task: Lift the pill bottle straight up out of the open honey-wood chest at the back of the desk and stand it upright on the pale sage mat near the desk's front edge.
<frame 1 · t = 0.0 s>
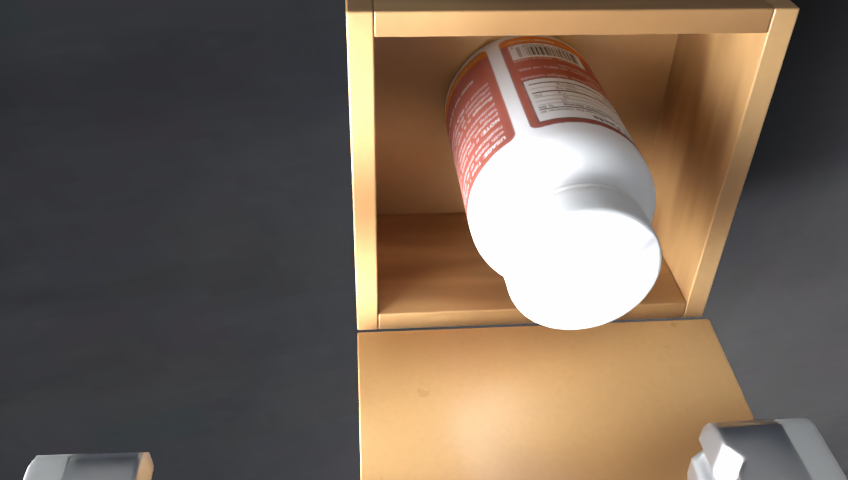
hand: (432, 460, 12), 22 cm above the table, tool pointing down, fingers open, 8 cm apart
pill bottle: (518, 97, 33), point 1 cm above the table, touching chest
chest: (515, 90, 33), on the table
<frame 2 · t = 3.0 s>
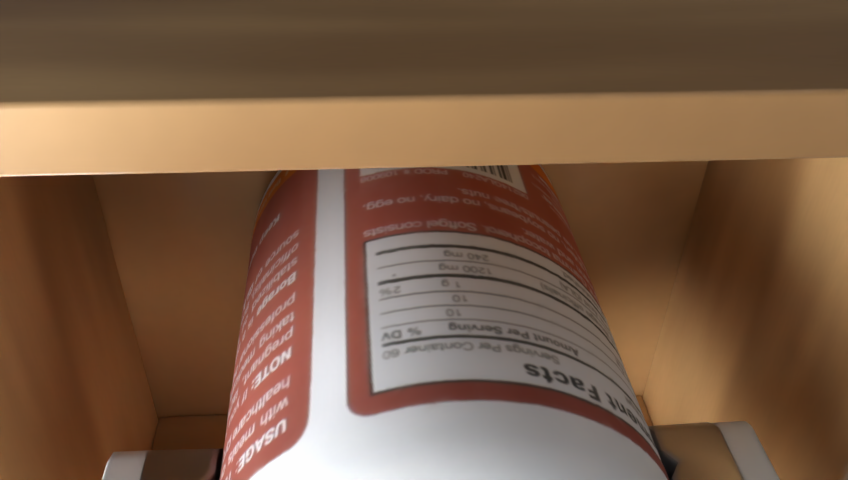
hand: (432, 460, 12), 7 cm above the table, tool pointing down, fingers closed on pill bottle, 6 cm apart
pill bottle: (408, 220, 17), point 1 cm above the table, touching chest, gripper
chest: (406, 204, 17), on the table
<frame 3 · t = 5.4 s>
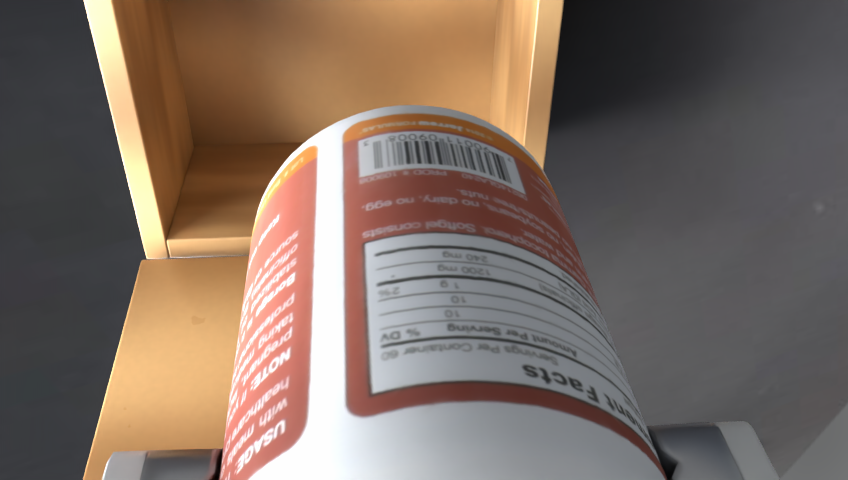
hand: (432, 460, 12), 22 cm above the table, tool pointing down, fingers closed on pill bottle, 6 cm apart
pill bottle: (407, 221, 17), point 16 cm above the table, touching gripper
chest lid: (348, 456, 24), point 14 cm above the table, hinge at 95.0°
chest: (336, 2, 30), on the table
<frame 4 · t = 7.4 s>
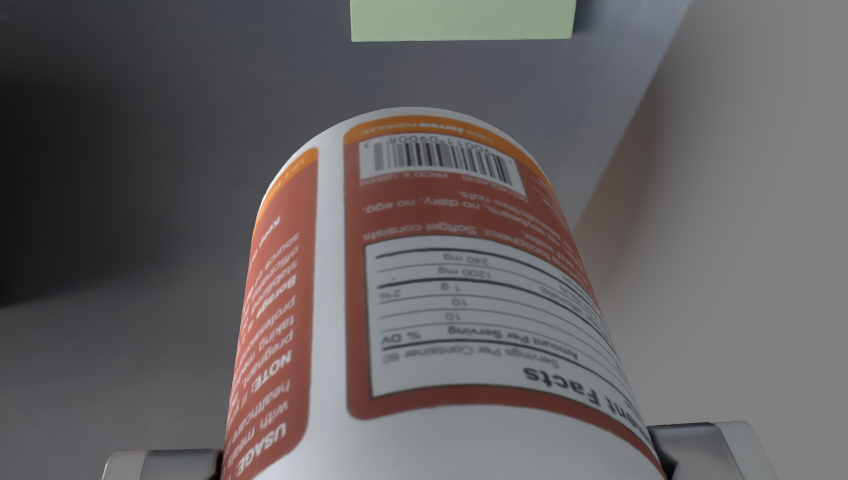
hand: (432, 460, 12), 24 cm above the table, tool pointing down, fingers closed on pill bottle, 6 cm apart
pill bottle: (408, 222, 17), point 18 cm above the table, touching gripper
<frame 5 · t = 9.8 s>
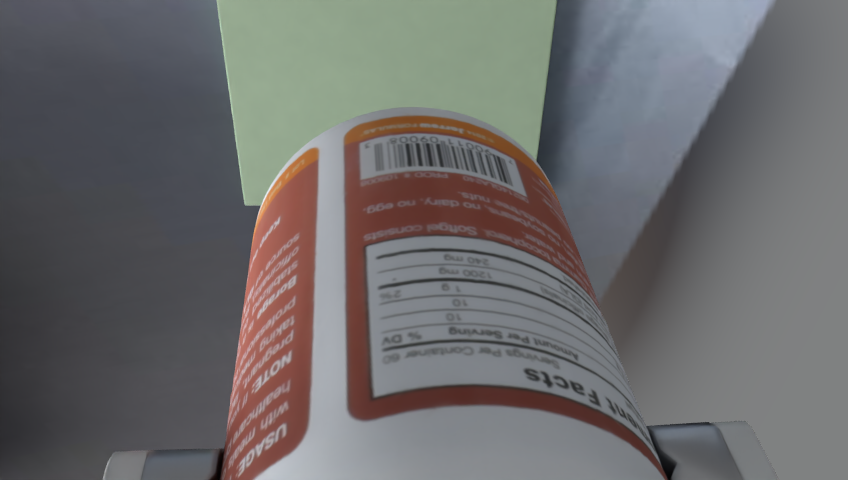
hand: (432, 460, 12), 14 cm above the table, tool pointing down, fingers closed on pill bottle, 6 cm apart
pill bottle: (408, 223, 17), point 8 cm above the table, touching gripper
mat: (389, 63, 23), on the table
when the fingers open (6 cm above the table, at t = 12.0 s): pill bottle stays where it is, resting on mat.
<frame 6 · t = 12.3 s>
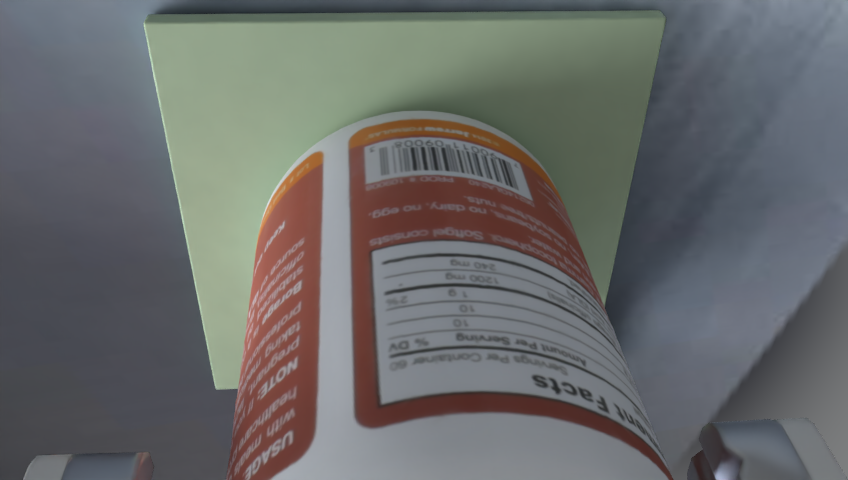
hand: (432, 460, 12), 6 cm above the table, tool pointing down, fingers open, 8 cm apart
pill bottle: (412, 226, 17), resting on mat
mat: (407, 219, 17), on the table
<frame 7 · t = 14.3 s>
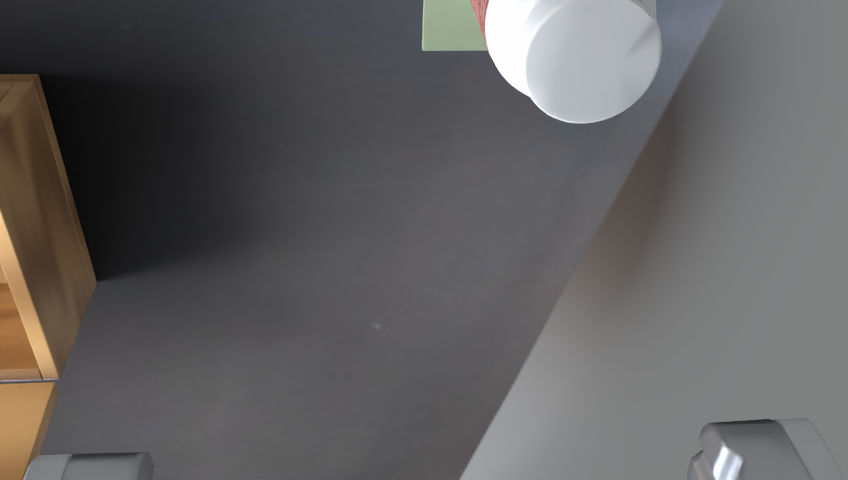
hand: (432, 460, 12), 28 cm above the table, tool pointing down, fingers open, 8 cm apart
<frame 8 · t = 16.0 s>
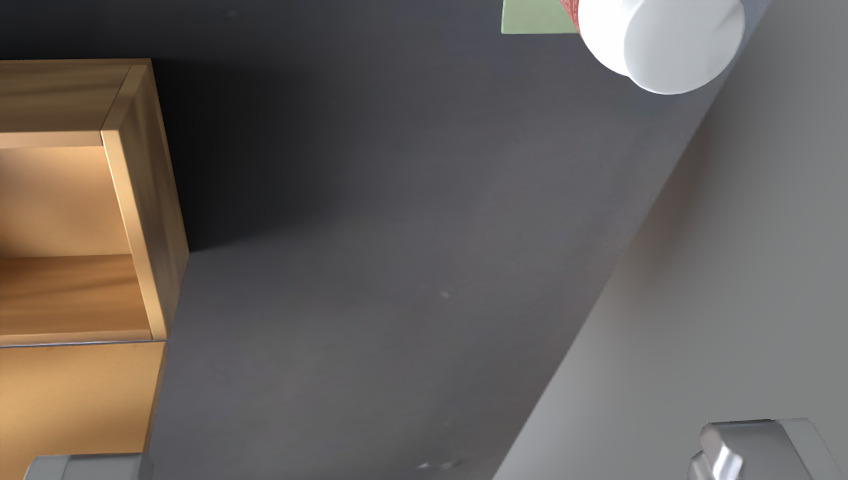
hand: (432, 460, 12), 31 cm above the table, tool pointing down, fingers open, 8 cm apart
chest: (44, 167, 44), on the table
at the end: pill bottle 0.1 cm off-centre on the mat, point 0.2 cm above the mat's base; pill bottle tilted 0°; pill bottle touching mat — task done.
